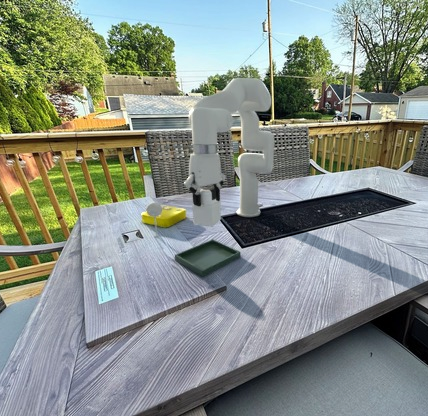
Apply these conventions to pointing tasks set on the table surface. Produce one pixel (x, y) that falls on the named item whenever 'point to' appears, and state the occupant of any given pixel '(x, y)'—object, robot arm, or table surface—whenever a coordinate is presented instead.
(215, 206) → the medicine bottle
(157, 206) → the lollipop
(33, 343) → the table surface
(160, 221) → the yellow flat block
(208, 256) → the tray
